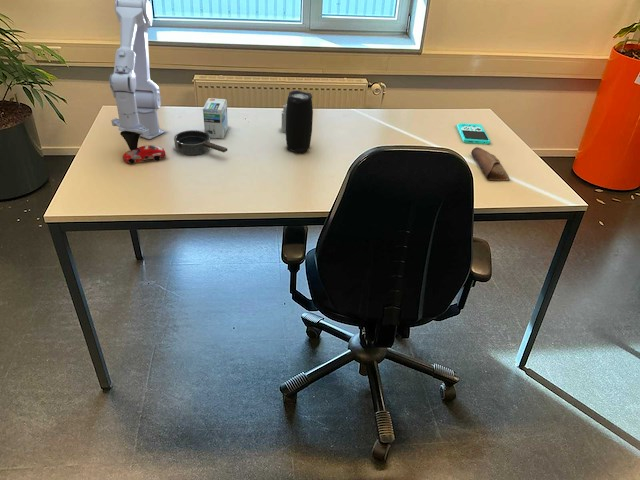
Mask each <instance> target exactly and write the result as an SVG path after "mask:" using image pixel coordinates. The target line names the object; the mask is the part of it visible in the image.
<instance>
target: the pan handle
mask: <svg viewBox="0 0 640 480" xmlns="http://www.w3.org/2000/svg"><path fill="white" fill-rule="evenodd" d="M204 146H206V147H209V148H210V149H212V150H215V151H217V152H221V153H226V152H227V151H228V147H225V146H222V145H219V144H216V143H213V142H211V141H210V142H206V143H204Z"/></svg>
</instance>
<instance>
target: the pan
mask: <svg viewBox="0 0 640 480" xmlns="http://www.w3.org/2000/svg"><path fill="white" fill-rule="evenodd" d="M173 141H174V149H175V151H176V152H177V153H179V154H181V155H183V156H184V155H185V156H199V155H203V154H205V153H207V152H208V151H209V150H210V149H211V148H209V147H206V146H204V143H206V142H210V143H211V138H210V136H209V135H208V134H207V133H205V131H202V130H195V129H192V130H191V129H190V130H184V131H180V132H178V133H176V134H175V135H174V137H173Z"/></svg>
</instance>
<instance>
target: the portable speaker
mask: <svg viewBox="0 0 640 480" xmlns="http://www.w3.org/2000/svg"><path fill="white" fill-rule="evenodd" d="M286 102H287V107H286V130H285V132H284V133H285V141H286V150H287V151H290V150H291V151H293V152H294V153H296V154H297V155H301V154H305V153H307V152H308V151H309V149H310V146H311V141H312V134H313V121H314V118H313V116H314V109H313V95H312V93H311V92H305V91H301V90H291V91H289V93H288V96H287V100H286Z"/></svg>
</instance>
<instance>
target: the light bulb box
mask: <svg viewBox="0 0 640 480" xmlns="http://www.w3.org/2000/svg"><path fill="white" fill-rule="evenodd" d="M227 101H228V100H227V99H225V98H214V97H208V99H206V102H205V104H204V106H203V107H202V114H203V116H202V117H203V125H204V126H203V127H204V132H205V133H207V134H208V135H209V136H210V139H224V137H225V136H226V133H227V131H228V128H229V120H228V119H229V118H228V102H227Z"/></svg>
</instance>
